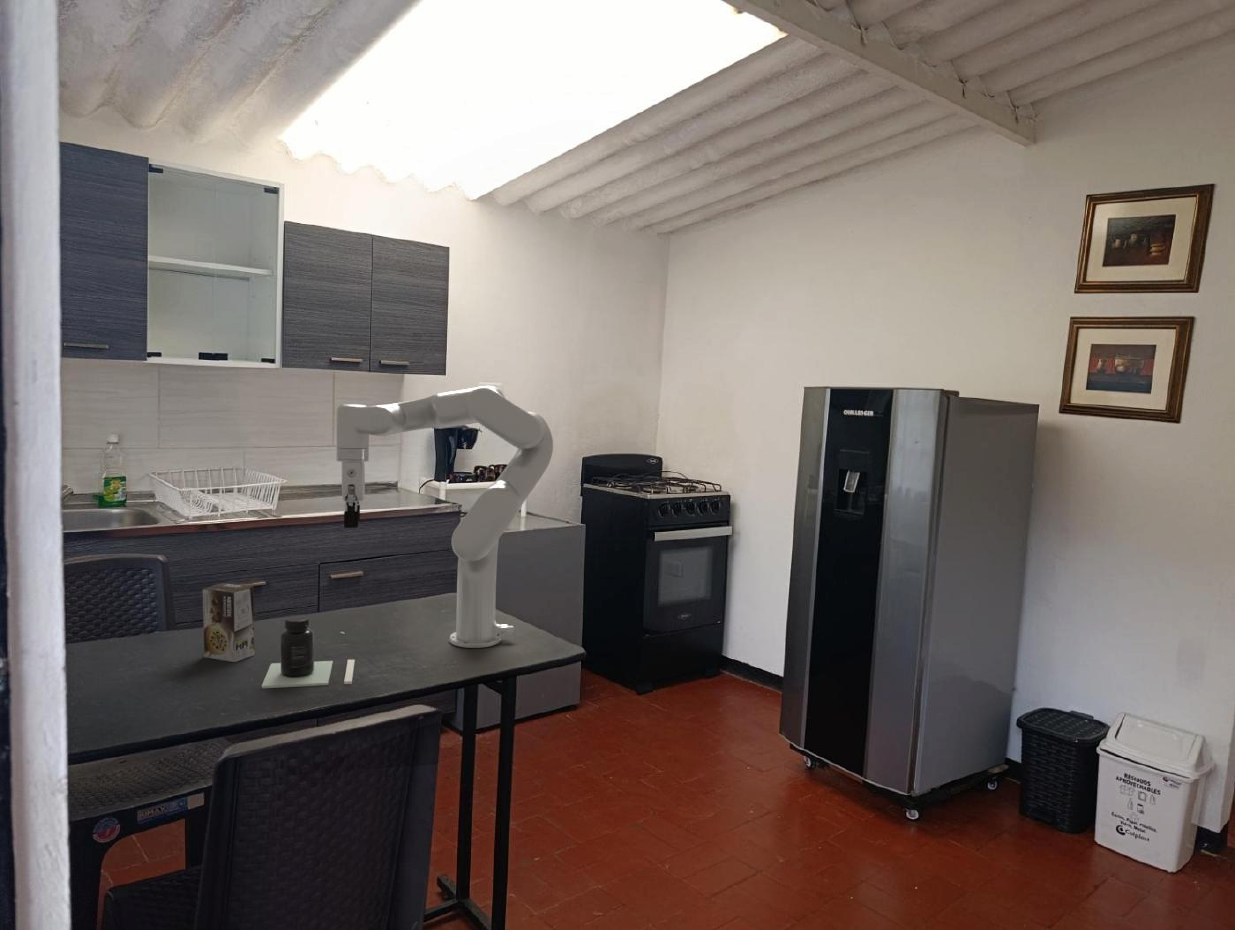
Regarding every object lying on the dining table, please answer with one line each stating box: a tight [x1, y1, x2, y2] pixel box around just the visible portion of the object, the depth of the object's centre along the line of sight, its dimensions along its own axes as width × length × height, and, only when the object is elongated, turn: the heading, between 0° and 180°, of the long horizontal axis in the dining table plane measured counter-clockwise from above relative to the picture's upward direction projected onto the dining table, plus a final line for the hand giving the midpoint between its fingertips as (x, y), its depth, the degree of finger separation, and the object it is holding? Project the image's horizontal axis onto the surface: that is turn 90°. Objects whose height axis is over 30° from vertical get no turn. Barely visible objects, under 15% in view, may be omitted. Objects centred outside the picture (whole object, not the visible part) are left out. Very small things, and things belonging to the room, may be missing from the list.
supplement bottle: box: [279, 615, 315, 677], centre depth 182 cm, size 7×7×12 cm
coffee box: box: [202, 582, 255, 663], centre depth 192 cm, size 9×6×16 cm
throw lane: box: [261, 659, 356, 689], centre depth 184 cm, size 18×14×1 cm
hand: (352, 524), depth 209 cm, fingers open, 9 cm apart
